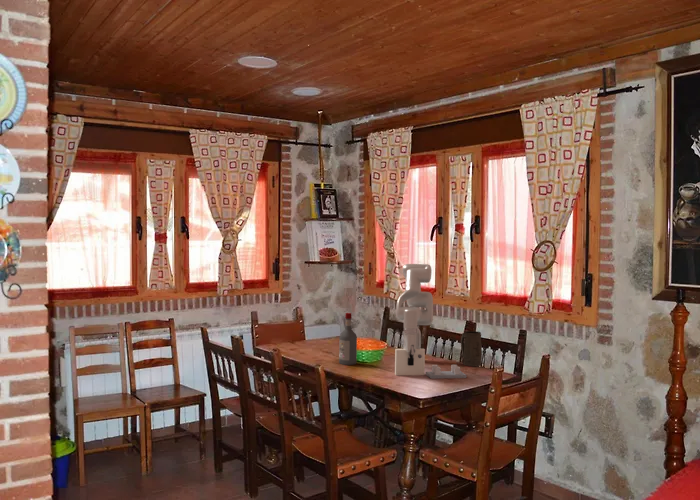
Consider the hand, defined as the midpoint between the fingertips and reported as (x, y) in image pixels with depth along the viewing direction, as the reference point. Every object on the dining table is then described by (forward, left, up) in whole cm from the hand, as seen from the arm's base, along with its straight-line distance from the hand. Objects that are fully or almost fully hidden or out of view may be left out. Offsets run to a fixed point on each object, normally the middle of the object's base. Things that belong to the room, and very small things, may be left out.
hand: (409, 364), depth 332 cm
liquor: (-32, -30, -6) cm, 44 cm away
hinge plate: (+5, +19, -6) cm, 20 cm away
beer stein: (-26, +43, -6) cm, 51 cm away
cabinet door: (0, 0, -6) cm, 6 cm away
